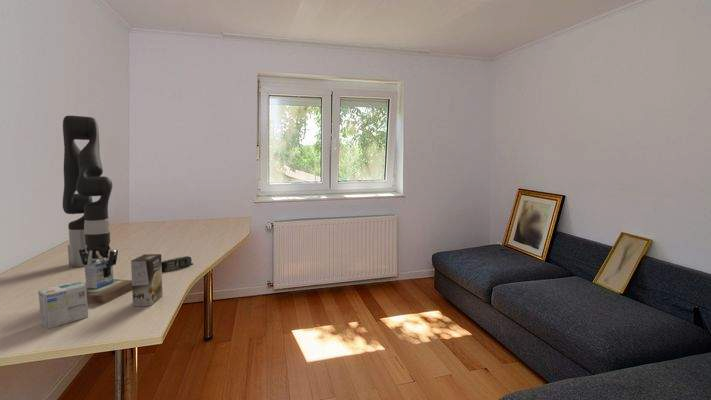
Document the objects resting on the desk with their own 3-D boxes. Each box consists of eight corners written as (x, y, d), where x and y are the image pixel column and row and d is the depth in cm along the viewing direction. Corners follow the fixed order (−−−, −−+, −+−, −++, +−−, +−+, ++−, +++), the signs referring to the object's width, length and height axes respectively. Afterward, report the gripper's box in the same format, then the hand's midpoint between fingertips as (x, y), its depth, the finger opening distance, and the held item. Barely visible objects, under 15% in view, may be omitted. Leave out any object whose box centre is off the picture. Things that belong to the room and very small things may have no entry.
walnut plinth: (62, 301, 129) (61, 292, 128) (98, 285, 145) (98, 277, 144) (103, 304, 127) (103, 294, 127) (136, 288, 143) (136, 279, 142)
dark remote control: (162, 262, 162) (194, 255, 173) (159, 261, 163) (191, 253, 175) (162, 273, 162) (195, 265, 174) (159, 272, 164) (192, 264, 176)
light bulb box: (81, 311, 121) (78, 280, 119) (89, 317, 117) (87, 284, 116) (39, 323, 112) (36, 289, 111) (47, 329, 108) (44, 294, 107)
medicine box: (96, 289, 131) (95, 265, 131) (85, 288, 132) (84, 264, 131) (114, 282, 139) (112, 259, 138) (103, 281, 140) (102, 259, 139)
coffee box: (151, 306, 126) (149, 260, 124) (132, 306, 126) (130, 260, 124) (163, 296, 135) (161, 253, 133) (145, 296, 135) (143, 253, 133)
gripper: (70, 232, 130) (73, 278, 132) (107, 234, 129) (110, 281, 131) (87, 228, 138) (90, 272, 140) (123, 230, 136) (125, 274, 138)
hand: (100, 276), depth 135 cm, fingers open, 5 cm apart
